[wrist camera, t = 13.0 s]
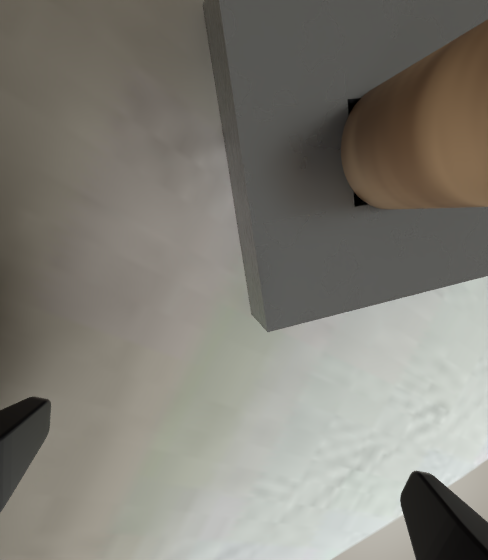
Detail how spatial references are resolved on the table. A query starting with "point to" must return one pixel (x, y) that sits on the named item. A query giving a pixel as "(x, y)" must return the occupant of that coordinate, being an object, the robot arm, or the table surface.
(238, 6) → the socket block
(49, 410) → the robot arm
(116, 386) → the table surface
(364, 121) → the walnut pin
